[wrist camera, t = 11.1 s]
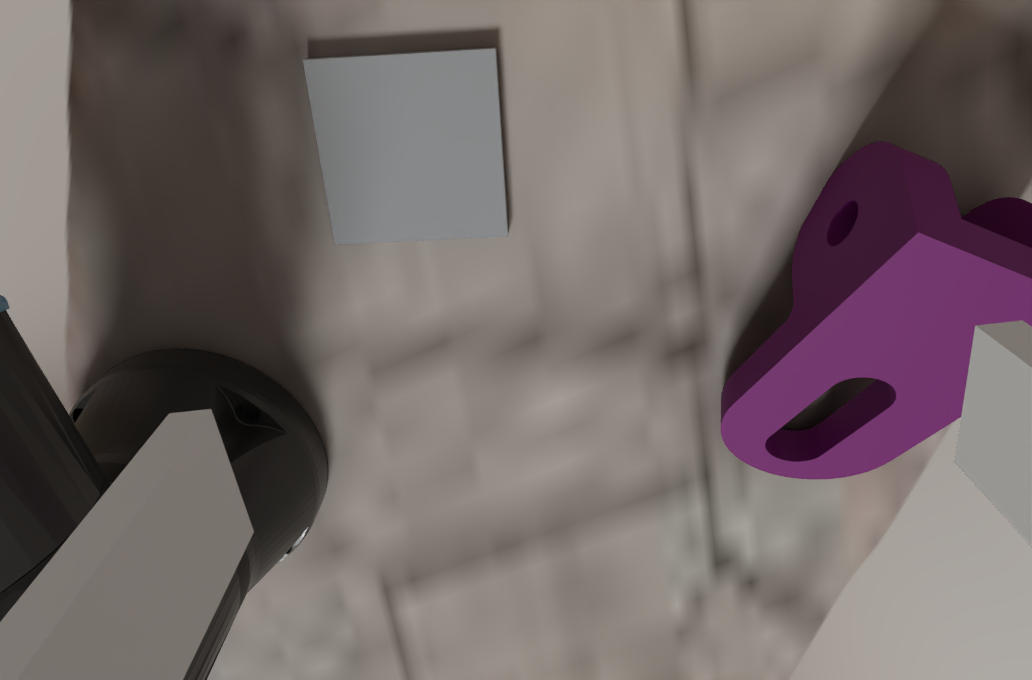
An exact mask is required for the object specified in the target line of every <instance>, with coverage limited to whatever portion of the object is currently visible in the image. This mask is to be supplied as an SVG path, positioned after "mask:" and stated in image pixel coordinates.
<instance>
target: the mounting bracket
mask: <svg viewBox="0 0 1032 680" xmlns="http://www.w3.org/2000/svg"><path fill="white" fill-rule="evenodd" d="M792 285H793V301H794V302H793V308H792V311H791V314H790V315H789V317H788V319H787V320H786V321H785V322H784V323H783V324H782V325H781V326H780V327H779V328H778V329H777V330H776V331H775V332H774V333H773V334H772V335H771V336H770V337H769V338H768V339H767V340H766V341H765V342H764V343H763V344H762V345H761V346H760V347H759V348H758V349H757V350H756V351H755V352H754V353H753V354H752V355H751V356H750V357H749V358H748V359H747V360H746V361H745V362H744V363H743V364H742V365H741V366H740V367H739V368H738V369H737V370H736V371H735V372H734V373H733V374H732V375H731V376H730V377H729V379H728V380H727V382H726V383H725V385H724V387H723V391H722V396H721V436H722V439H723V441H724V443H725V445H726V446H727V448H728V449H729V450H730V451H731V452H732V453H733V454H734V455H735V456H736V457H737V458H739V459H740V460H742V461H743V462H745V463H747V464H748V465H750V466H752V467H755V468H757V469H759V470H762V471H765V472H768V473H772V474H775V475H780V476H785V477H791V478H800V479H833V478H841V477H847V476H853V475H857V474H861V473H864V472H868V471H870V470H873V469H876V468H878V467H880V466H882V465H884V464H886V463H888V462H890V461H891V460H893V459H895V458H896V457H898V456H899V455H901V454H902V453H904V452H906V451H907V450H909V449H910V448H912V447H914V446H915V445H917V444H918V443H920V442H922V441H923V440H925V439H926V438H928V437H930V436H931V435H933V434H934V433H936V432H938V431H939V430H941V429H942V428H944V427H946V426H947V425H949V424H950V423H952V422H954V421H955V420H957V419H958V418H960V417H961V415H962V408H963V402H964V395H965V389H966V382H967V376H968V370H969V363H970V357H971V350H972V344H973V337H974V331H975V326H976V325H985V324H994V323H1003V322H1012V321H1021V320H1023V321H1024V322H1026V323H1027V324H1029V325H1030V326H1032V203H1030V202H1027V201H1025V200H1022V199H1019V198H1011V197H1007V198H999V199H995V200H992V201H989V202H986V203H984V204H982V205H980V206H978V207H976V208H975V209H973V210H972V211H970V212H969V213H967V214H966V215H964V216H963V217H962V218H961V215H960V212H959V208H958V205H957V201H956V198H955V194H954V191H953V187H952V184H951V180H950V178H949V175H948V173H947V172H946V170H945V169H944V168H943V167H942V166H941V165H939V164H938V163H935V162H933V161H931V160H928V159H926V158H924V157H921V156H919V155H917V154H914V153H912V152H909V151H907V150H905V149H902V148H900V147H898V146H895V145H893V144H891V143H888V142H883V141H881V142H875V143H871V144H869V145H866V146H864V147H863V148H861V149H859V150H858V151H856V152H855V153H854V154H852V155H851V156H850V157H849V158H848V159H846V160H845V161H844V162H843V163H842V164H841V165H840V166H839V167H838V168H837V170H836V171H835V172H834V173H833V174H832V176H831V177H830V178H829V180H828V181H827V183H826V185H825V187H824V188H823V190H822V192H821V194H820V195H819V197H818V199H817V200H816V202H815V204H814V206H813V207H812V209H811V211H810V213H809V214H808V216H807V218H806V220H805V221H804V223H803V225H802V227H801V230H800V233H799V236H798V239H797V242H796V246H795V250H794V255H793V262H792ZM861 377H865V378H875V379H877V380H876V381H875V382H873V383H872V384H871V385H869V386H868V387H867V388H865V389H864V390H863V391H862V392H860V393H859V394H858V395H856V396H855V397H854V398H852V399H851V400H850V401H848V402H847V403H846V404H844V405H843V406H842V407H841V408H839V409H838V410H837V411H835V412H834V413H833V414H831V415H830V416H829V417H827V418H826V419H825V420H824V421H822V422H821V423H820V424H818V425H817V426H815V427H812V428H810V429H806V430H799V431H790V430H783V429H780V428H781V427H782V426H784V425H785V424H786V423H787V422H789V421H790V420H791V419H792V418H794V417H795V416H796V415H797V414H799V413H800V412H801V411H802V410H804V409H805V408H806V407H807V406H808V405H810V404H811V403H812V402H813V401H815V400H816V399H817V398H818V397H820V396H821V395H822V394H823V393H825V392H826V391H827V390H828V389H829V388H831V387H832V386H833V385H835V384H837V383H839V382H841V381H844V380H847V379H852V378H861Z"/></svg>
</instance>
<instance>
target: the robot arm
mask: <svg viewBox="0 0 1032 680" xmlns="http://www.w3.org/2000/svg"><path fill="white" fill-rule="evenodd" d="M7 309H9V305H8V302H7V300H6V299H5V297H3V296H1V295H0V680H207V678H208V676H209V673H210V671H211V669H212V667H213V665H214V663H215V660H216V658H217V656H218V654H219V652H220V649H221V647H222V645H223V643H224V641H225V639H226V636H227V634H228V632H229V630H230V628H231V626H232V623H233V621H234V619H235V617H236V614H237V612H238V610H239V608H240V606H241V604H242V602H243V600H244V598H245V596H246V594H247V593H248V592H249V591H250V590H251V589H252V588H253V587H254V586H255V585H256V584H257V583H258V582H259V581H260V580H261V579H262V578H263V577H264V576H265V575H266V574H267V573H268V572H269V571H270V570H271V569H272V568H273V566H274V565H276V564H278V563H279V562H280V561H282V560H283V559H285V558H286V557H287V556H288V555H289V554H290V553H291V552H292V551H293V550H294V549H295V548H296V547H297V546H298V545H299V544H300V543H301V542H302V540H303V539H304V537H305V536H306V535H307V533H308V532H309V530H310V528H311V526H312V524H313V522H314V520H315V517H316V515H317V513H318V510H319V508H320V506H321V503H322V501H323V498H324V495H325V491H326V487H327V479H328V469H327V459H326V454H325V450H324V447H323V444H322V441H321V438H320V436H319V434H318V432H317V430H316V428H315V426H314V424H313V422H312V421H311V419H310V418H309V416H308V415H307V413H306V412H305V411H304V409H303V408H302V407H301V406H300V405H299V403H298V402H297V401H296V400H295V399H294V398H293V397H292V396H291V395H290V394H289V393H288V392H287V391H286V390H284V389H283V388H282V387H281V386H280V385H278V384H277V383H276V382H274V381H273V380H272V379H270V378H269V377H267V376H266V375H264V374H262V373H261V372H259V371H257V370H255V369H254V368H252V367H250V366H248V365H245V364H243V363H241V362H238V361H236V360H233V359H231V358H228V357H225V356H221V355H217V354H214V353H209V352H204V351H197V350H186V349H170V350H160V351H153V352H149V353H144V354H141V355H138V356H135V357H133V358H130V359H128V360H126V361H124V362H122V363H120V364H118V365H117V366H115V367H113V368H112V369H111V370H109V371H108V372H107V373H106V374H105V375H104V376H102V377H101V378H100V379H99V380H98V381H97V382H96V383H95V384H94V385H93V386H92V387H90V388H89V389H88V390H87V391H86V392H85V393H84V394H83V395H82V396H81V397H80V399H79V400H78V401H77V403H76V404H75V405H74V407H73V408H72V410H71V411H70V413H69V415H68V413H67V411H66V410H65V408H64V406H63V405H62V403H61V401H60V400H59V398H58V396H57V395H56V393H55V391H54V390H53V388H52V386H51V385H50V383H49V382H48V380H47V378H46V376H45V375H44V373H43V371H42V370H41V368H40V366H39V365H38V363H37V362H36V360H35V358H34V357H33V355H32V353H31V352H30V350H29V348H28V347H27V345H26V343H25V342H24V340H23V338H22V337H21V335H20V333H19V332H18V330H17V328H16V327H15V325H14V324H13V322H12V320H11V318H10V317H9V315H8V313H7V311H6V310H7ZM954 462H955V463H956V465H957V466H958V467H959V468H960V469H961V470H962V471H963V472H964V473H965V475H966V476H967V477H968V478H969V479H970V480H971V481H972V482H973V483H974V484H975V485H976V487H977V488H978V489H979V490H980V491H981V492H982V493H983V494H984V495H985V496H986V498H987V499H988V500H989V501H990V502H991V503H992V504H993V505H994V506H995V507H996V508H997V510H998V511H999V512H1000V513H1001V514H1002V515H1003V516H1004V517H1005V518H1006V519H1007V520H1008V522H1009V523H1010V524H1011V525H1012V526H1013V527H1014V528H1015V529H1016V530H1017V531H1018V532H1019V534H1020V535H1021V536H1022V537H1023V538H1024V539H1025V540H1026V541H1027V542H1028V544H1029V545H1030V546H1031V547H1032V326H1030V325H1029V324H1027V323H1026V322H1024V321H1023V320H1021V321H1012V322H1003V323H994V324H985V325H976V326H975V331H974V337H973V344H972V350H971V357H970V363H969V370H968V376H967V382H966V389H965V395H964V402H963V408H962V415H961V422H960V428H959V434H958V441H957V447H956V454H955V460H954Z"/></svg>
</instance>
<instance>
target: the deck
mask: <svg viewBox="0 0 1032 680" xmlns="http://www.w3.org/2000/svg"><path fill="white" fill-rule="evenodd" d="M303 65H304V70H305V76H306V82H307V88H308V94H309V99H310V105H311V111H312V117H313V122H314V128H315V134H316V140H317V146H318V151H319V157H320V163H321V169H322V175H323V180H324V186H325V192H326V198H327V203H328V209H329V215H330V221H331V227H332V232H333V238H334V244H335V245H336V244H358V243H380V242H402V241H424V240H446V239H468V238H489V237H508V216H507V201H506V186H505V171H504V155H503V140H502V125H501V110H500V94H499V79H498V64H497V49H496V47H489V48H472V49H455V50H439V51H422V52H406V53H389V54H372V55H356V56H339V57H322V58H307V59H304V60H303Z"/></svg>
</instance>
